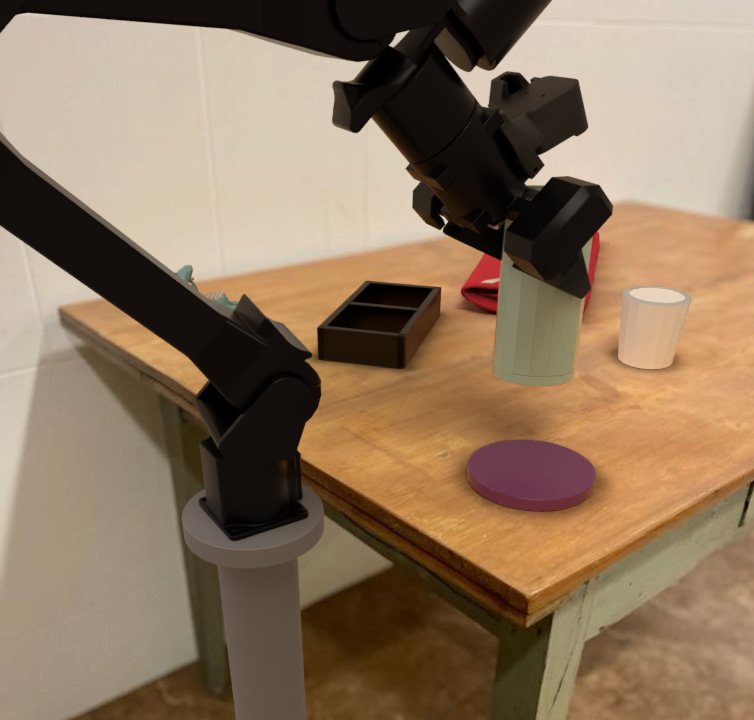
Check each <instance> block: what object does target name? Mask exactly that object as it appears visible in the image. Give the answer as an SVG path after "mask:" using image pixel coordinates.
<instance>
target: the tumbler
mask: <svg viewBox="0 0 754 720" xmlns="http://www.w3.org/2000/svg"><path fill="white" fill-rule="evenodd" d="M544 185H545V184H526V186H528V187H531V188H534V189H537V190H541V189H542V188H543V187H544ZM512 222H513V221H511V220H508V219H506V221H505V222H504V231H503V243H502V255H501V267H500V280H499V292H498V304H497V312H496V317H495V328H494V329H495V331H494V342H493V352H492V353H493V355H492V375H493V376H494V377H495V378H496V379H498V380H501V381H503V382H507V383H510V384H514V385H519V386H526V387H527V386H528V387H555V386H556V387H557V386H562V385H566V384H569V383H571V382H573V380H574V379H575V375H576V374H575V373H576V369H577V364H578V356H579V347H580V340H581V334H582V333H581V332H582V326H583V325H582V324H583V317H584V314H583V309H584V301H585V297H584V298H583V299H579V298H577V297H575V296H573V295H570V294H568V293H566V292H564V291H562V290H560V289H558V288H555V287H553V286H551V285H549V284H546V283H544V282H542V281H540V280H538V279H536V278H533V277H531V276H529V275H527V274H525V273H523V272H521V271H519V270H517V269H515V268H513V267H512V265H513V263H514V262H513V261H512V260H511V259H510V258H509V256H508V255H507V254H506V253H505V252H504V241H505V230H506V229H507V228H508V227H509V226H510V224H511V223H512ZM592 239H593V237H592V238H591V239H590V240H589V241H588V242H587V243H586V245H585V246H584V247H583V248H582V252H583V256H584V260H585V264H586V268H587V272H588V270H589V262H590V255H591V247H592Z"/></svg>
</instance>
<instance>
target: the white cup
mask: <svg viewBox="0 0 754 720" xmlns="http://www.w3.org/2000/svg"><path fill="white" fill-rule="evenodd" d="M692 301H693V299H692V297H691V295H690V294H688V293H687V292H684V291H681V290H678V289H676V288H671V287H663V286H656V285H655V286H654V285H640V286H632V287H627V288H626V289H624V290H622V297H621V309H620V310H621V311H620V321H619V323H620V324H619V336H618V339H619V340H618V349H617V359H618V361H620V362H621V363H622V364H624V365H627V366H629V367H632V368H636V369H641V370H642V369H643V370H663V369H665V368H669V367H670V366H671V365H672V364H673V362H674V358H675V356H676V352H677V349H678V345H679V342H680V339H681V336H682V333H683V330H684V326H685V324H686V321H687V317H688V314H689V311H690V308H691V305H692V303H693V302H692Z"/></svg>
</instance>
